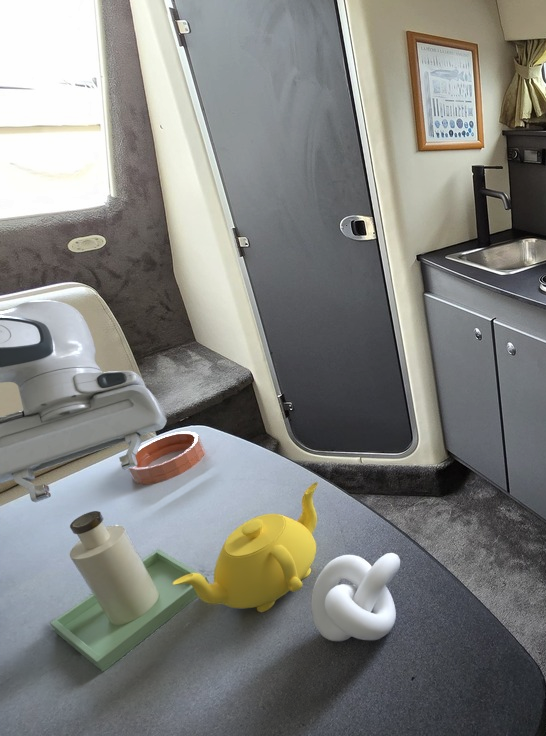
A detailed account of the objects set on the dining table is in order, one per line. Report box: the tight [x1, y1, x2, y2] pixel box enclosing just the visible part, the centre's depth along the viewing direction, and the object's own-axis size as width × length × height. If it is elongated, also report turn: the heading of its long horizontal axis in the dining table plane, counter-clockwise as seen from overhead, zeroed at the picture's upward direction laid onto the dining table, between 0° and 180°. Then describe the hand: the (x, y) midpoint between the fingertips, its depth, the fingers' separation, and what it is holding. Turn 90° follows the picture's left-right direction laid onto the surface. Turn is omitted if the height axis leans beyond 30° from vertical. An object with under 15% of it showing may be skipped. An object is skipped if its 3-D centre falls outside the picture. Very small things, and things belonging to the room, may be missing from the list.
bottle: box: [69, 510, 159, 625], centre depth 70 cm, size 6×6×17 cm
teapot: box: [173, 481, 319, 613], centre depth 74 cm, size 20×15×12 cm
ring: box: [127, 431, 205, 485], centre depth 100 cm, size 11×12×5 cm
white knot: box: [310, 552, 401, 642], centre depth 68 cm, size 11×12×9 cm
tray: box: [49, 548, 210, 673], centre depth 73 cm, size 13×13×2 cm
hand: (87, 482), depth 72 cm, fingers open, 8 cm apart
